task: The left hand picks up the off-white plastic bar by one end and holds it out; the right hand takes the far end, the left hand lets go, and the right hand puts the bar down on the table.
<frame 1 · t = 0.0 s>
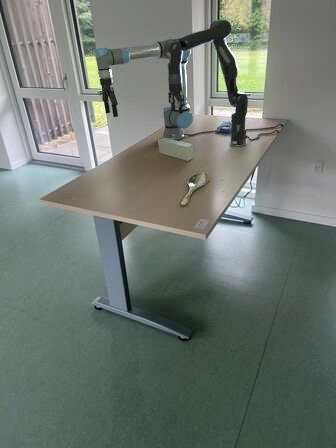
left hand: (111, 114, 206), 28 cm above the table, tool pointing down, fingers open, 13 cm apart
right hand: (177, 112, 193), 29 cm above the table, tool pointing down, fingers open, 8 cm apart
spoon: (193, 190, 170), on the table
bar: (175, 155, 216), on the table
spray gun: (228, 129, 256), on the table
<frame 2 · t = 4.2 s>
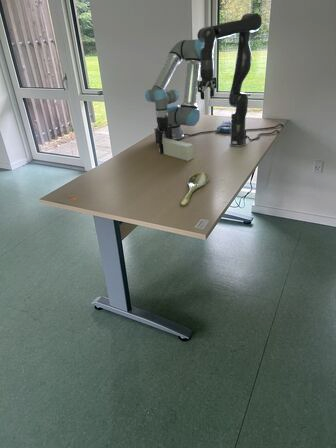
left hand: (165, 151, 222), 1 cm above the table, tool pointing down, fingers closed on bar, 5 cm apart
right hand: (207, 97, 198), 34 cm above the table, tool pointing down, fingers open, 8 cm apart
bar: (175, 155, 216), on the table, touching left hand
everything else where it was.
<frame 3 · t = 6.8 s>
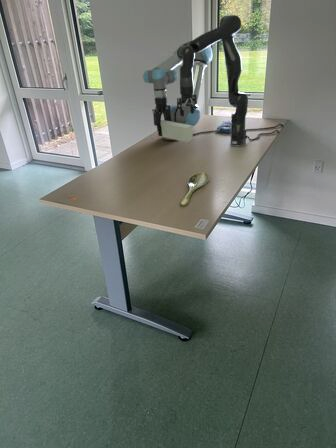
left hand: (163, 134, 216), 12 cm above the table, tool pointing down, fingers closed on bar, 5 cm apart
right hand: (187, 114, 197), 27 cm above the table, tool pointing down, fingers open, 8 cm apart
bar: (174, 137, 210), point 12 cm above the table, touching left hand
everything else where it was.
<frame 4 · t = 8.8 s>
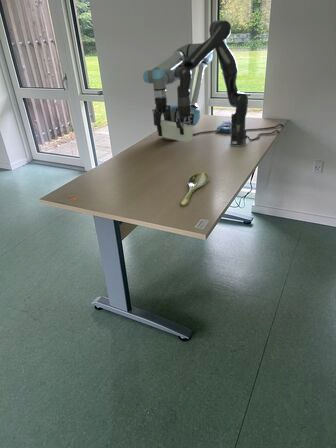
left hand: (163, 134, 216), 12 cm above the table, tool pointing down, fingers closed on bar, 5 cm apart
right hand: (185, 133, 202), 16 cm above the table, tool pointing down, fingers closed on bar, 5 cm apart
bar: (174, 137, 210), point 12 cm above the table, touching left hand, right hand
everything else where it was.
when the left hand's fingers open (12 cm above the table, at t = 9.6 s): bar stays where it is, held by the right hand.
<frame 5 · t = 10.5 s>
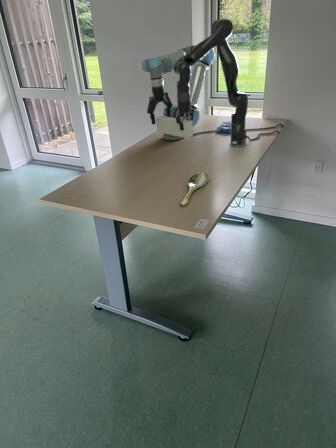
left hand: (161, 121, 214), 20 cm above the table, tool pointing down, fingers open, 13 cm apart
right hand: (185, 128, 200), 19 cm above the table, tool pointing down, fingers closed on bar, 5 cm apart
bar: (174, 133, 209), point 14 cm above the table, touching right hand
everything else where it was.
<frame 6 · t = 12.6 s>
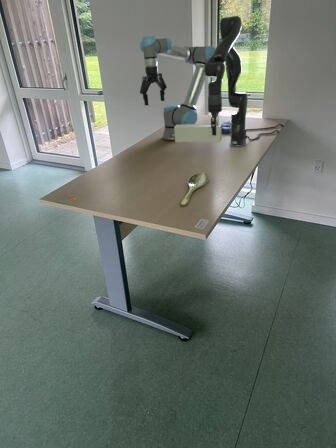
left hand: (154, 103, 210), 31 cm above the table, tool pointing down, fingers open, 13 cm apart
right hand: (215, 133, 190), 18 cm above the table, tool pointing down, fingers closed on bar, 5 cm apart
bar: (198, 140, 195), point 14 cm above the table, touching right hand
everything else where it was.
when the right hand's fingers open (6 cm above the table, at t = 14.3 s): bar drops 1 cm, on the table.
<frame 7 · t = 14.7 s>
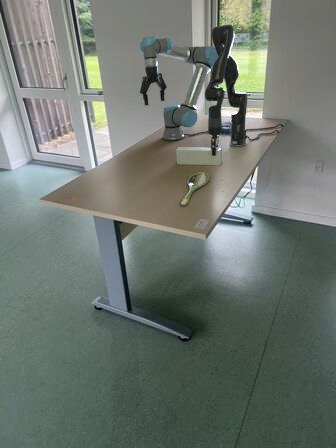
left hand: (154, 103, 210), 31 cm above the table, tool pointing down, fingers open, 13 cm apart
right hand: (215, 152, 196), 7 cm above the table, tool pointing down, fingers open, 8 cm apart
bar: (199, 163, 202), on the table
everything else where it was.
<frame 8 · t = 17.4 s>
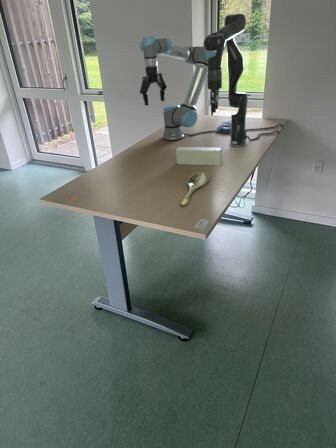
left hand: (154, 103, 210), 31 cm above the table, tool pointing down, fingers open, 13 cm apart
right hand: (214, 110, 183), 31 cm above the table, tool pointing down, fingers open, 8 cm apart
nothing on the table moved.
at the end: bar inside the target area (9.6 cm from its centre), on the table; the left hand is holding nothing; the right hand is holding nothing; bar at rest at the end (0.0 cm/s) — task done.
